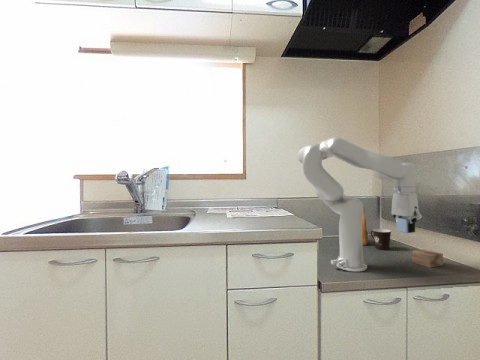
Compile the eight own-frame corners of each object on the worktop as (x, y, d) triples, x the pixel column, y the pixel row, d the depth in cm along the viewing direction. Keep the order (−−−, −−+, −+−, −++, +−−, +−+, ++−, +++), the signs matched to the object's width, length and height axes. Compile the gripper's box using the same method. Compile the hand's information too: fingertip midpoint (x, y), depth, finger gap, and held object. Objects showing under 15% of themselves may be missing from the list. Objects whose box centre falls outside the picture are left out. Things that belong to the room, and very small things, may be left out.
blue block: (406, 233, 114) (406, 219, 114) (396, 231, 119) (396, 218, 119) (415, 232, 116) (414, 218, 116) (404, 230, 120) (404, 217, 120)
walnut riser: (429, 267, 112) (429, 256, 112) (412, 262, 120) (412, 251, 120) (443, 265, 115) (442, 253, 115) (425, 259, 123) (424, 249, 122)
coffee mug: (394, 251, 137) (393, 232, 137) (376, 250, 139) (375, 232, 139) (385, 245, 149) (385, 227, 149) (369, 245, 150) (369, 227, 150)
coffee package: (366, 246, 147) (365, 207, 147) (343, 244, 154) (342, 207, 154) (369, 242, 155) (368, 205, 155) (347, 240, 162) (346, 205, 162)
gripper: (382, 190, 124) (383, 228, 124) (416, 191, 108) (417, 235, 108) (394, 189, 126) (395, 226, 127) (429, 190, 110) (430, 233, 110)
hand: (405, 230), depth 117 cm, fingers closed on blue block, 5 cm apart
